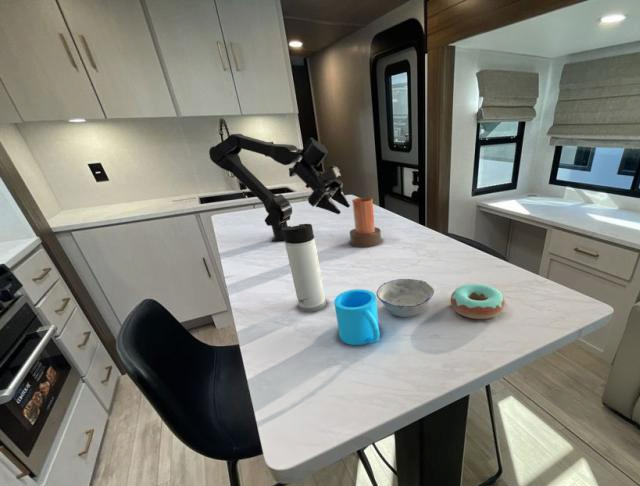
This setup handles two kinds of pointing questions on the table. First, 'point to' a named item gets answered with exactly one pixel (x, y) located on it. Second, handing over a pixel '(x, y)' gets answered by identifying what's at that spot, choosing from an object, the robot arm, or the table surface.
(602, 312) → the table surface
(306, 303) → the travel mug
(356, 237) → the stand
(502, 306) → the donut
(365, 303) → the mug
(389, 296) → the bowl
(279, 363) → the table surface
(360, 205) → the cup
